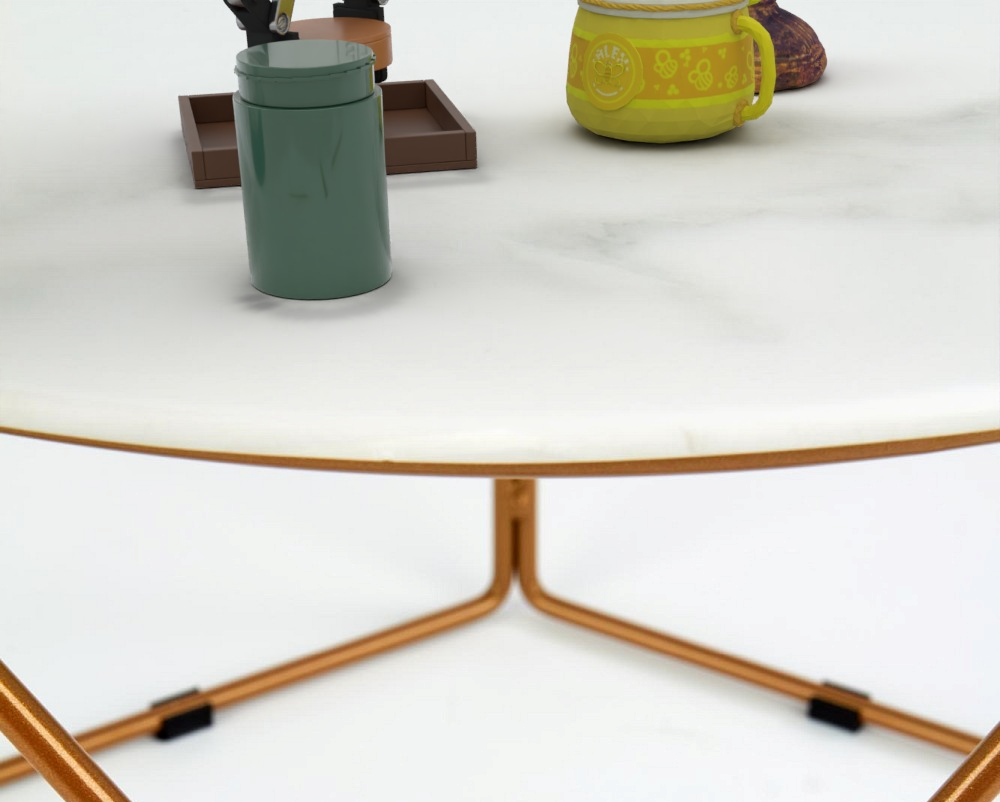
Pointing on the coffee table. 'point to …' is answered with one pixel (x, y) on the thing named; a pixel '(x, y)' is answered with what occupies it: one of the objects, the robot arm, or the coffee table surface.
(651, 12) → the mug
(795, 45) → the dark brown rounded piece
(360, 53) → the jar
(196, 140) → the tray
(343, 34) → the lid
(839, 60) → the coffee table surface
